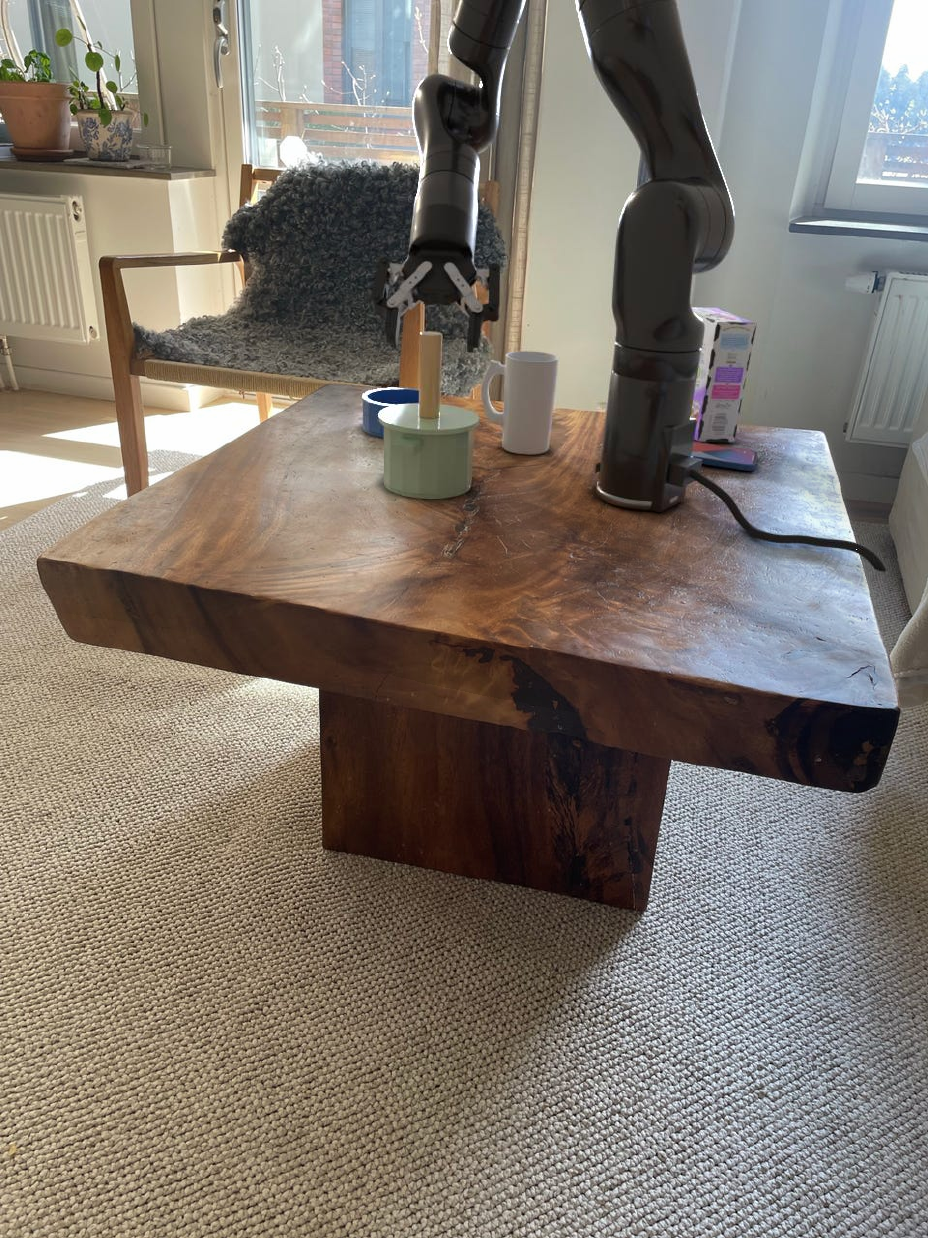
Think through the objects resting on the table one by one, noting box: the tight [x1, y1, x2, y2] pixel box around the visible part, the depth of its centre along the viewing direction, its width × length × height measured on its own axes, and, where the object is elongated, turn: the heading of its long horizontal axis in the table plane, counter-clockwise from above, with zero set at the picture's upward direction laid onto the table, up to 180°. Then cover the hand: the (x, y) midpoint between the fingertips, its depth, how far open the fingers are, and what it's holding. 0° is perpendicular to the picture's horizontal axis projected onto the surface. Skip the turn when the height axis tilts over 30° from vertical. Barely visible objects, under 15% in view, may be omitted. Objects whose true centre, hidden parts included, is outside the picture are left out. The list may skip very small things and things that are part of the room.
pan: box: [362, 387, 419, 439], centre depth 123 cm, size 10×10×4 cm
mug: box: [480, 350, 560, 456], centre depth 116 cm, size 10×7×12 cm, turn 69°
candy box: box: [691, 306, 758, 443], centre depth 127 cm, size 14×6×16 cm, turn 8°
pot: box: [383, 426, 475, 500], centre depth 102 cm, size 10×16×8 cm, turn 161°
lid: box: [379, 331, 480, 435], centre depth 98 cm, size 11×11×10 cm
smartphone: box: [691, 441, 758, 472], centre depth 118 cm, size 7×15×1 cm, turn 71°
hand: (431, 345), depth 98 cm, fingers open, 8 cm apart
